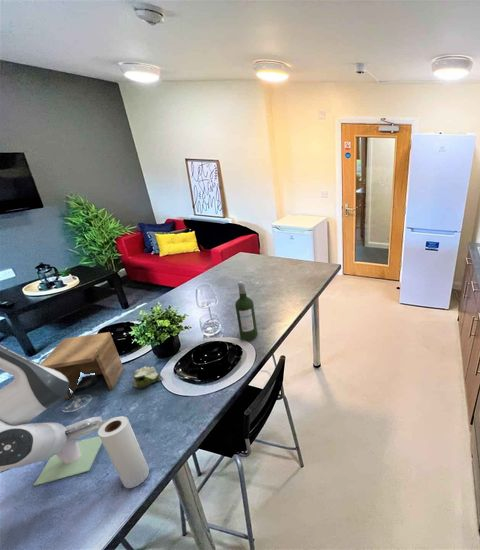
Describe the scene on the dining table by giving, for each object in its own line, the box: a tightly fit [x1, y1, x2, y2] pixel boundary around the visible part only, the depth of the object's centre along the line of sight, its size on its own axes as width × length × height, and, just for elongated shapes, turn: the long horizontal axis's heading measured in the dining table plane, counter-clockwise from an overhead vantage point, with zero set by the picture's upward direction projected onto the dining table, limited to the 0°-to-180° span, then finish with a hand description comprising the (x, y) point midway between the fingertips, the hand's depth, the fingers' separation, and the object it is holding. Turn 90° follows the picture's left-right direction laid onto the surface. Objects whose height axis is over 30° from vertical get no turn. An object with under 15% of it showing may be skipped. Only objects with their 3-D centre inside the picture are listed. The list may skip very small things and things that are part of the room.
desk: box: [39, 331, 125, 400], centre depth 107 cm, size 14×16×18 cm
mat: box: [33, 435, 103, 487], centre depth 86 cm, size 12×12×1 cm
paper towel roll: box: [97, 415, 150, 489], centre depth 78 cm, size 7×6×21 cm
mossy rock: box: [132, 366, 164, 389], centre depth 113 cm, size 9×9×8 cm
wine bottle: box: [234, 280, 258, 341], centre depth 138 cm, size 8×8×30 cm
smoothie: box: [56, 438, 81, 464], centre depth 83 cm, size 6×6×14 cm
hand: (62, 438), depth 83 cm, fingers open, 8 cm apart
